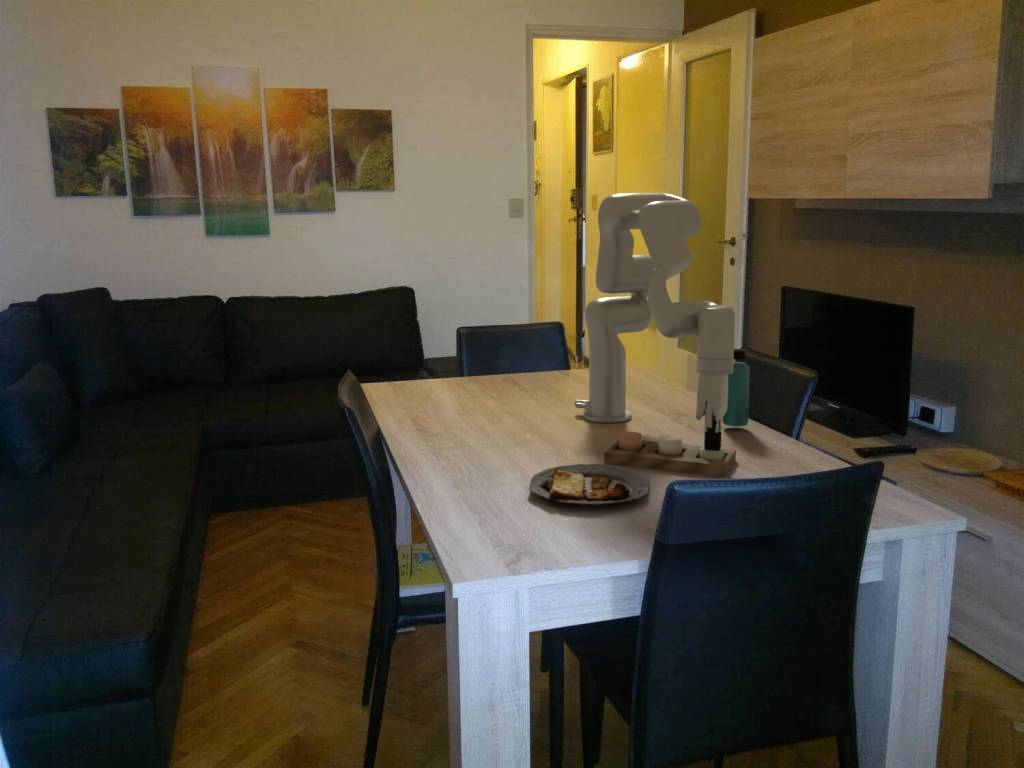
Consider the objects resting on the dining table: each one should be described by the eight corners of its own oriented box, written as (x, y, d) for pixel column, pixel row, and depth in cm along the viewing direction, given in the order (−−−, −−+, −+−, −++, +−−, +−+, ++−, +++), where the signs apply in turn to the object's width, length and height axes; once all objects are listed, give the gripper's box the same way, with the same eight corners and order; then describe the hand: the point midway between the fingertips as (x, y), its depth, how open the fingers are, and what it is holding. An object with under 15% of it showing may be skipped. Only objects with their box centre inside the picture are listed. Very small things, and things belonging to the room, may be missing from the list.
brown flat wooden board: (604, 463, 187) (604, 452, 187) (621, 448, 198) (621, 438, 197) (724, 477, 177) (725, 465, 176) (735, 460, 187) (735, 449, 187)
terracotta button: (616, 451, 189) (616, 436, 189) (622, 445, 194) (622, 430, 193) (637, 454, 187) (638, 438, 187) (644, 448, 192) (644, 432, 191)
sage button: (697, 467, 182) (697, 451, 182) (702, 460, 187) (702, 444, 186) (720, 469, 180) (721, 453, 179) (725, 462, 185) (726, 447, 184)
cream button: (655, 456, 186) (656, 440, 185) (661, 449, 190) (662, 434, 189) (678, 458, 184) (679, 442, 183) (684, 452, 188) (684, 436, 187)
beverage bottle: (749, 433, 209) (752, 352, 204) (721, 432, 210) (723, 351, 206) (747, 426, 215) (750, 347, 211) (720, 425, 216) (722, 346, 212)
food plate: (647, 516, 156) (647, 497, 155) (521, 512, 160) (520, 494, 159) (650, 476, 180) (650, 460, 180) (540, 473, 184) (540, 457, 184)
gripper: (704, 357, 187) (702, 439, 191) (688, 370, 174) (686, 457, 177) (739, 359, 184) (736, 442, 188) (726, 372, 171) (723, 461, 174)
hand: (712, 449), depth 183 cm, fingers closed
